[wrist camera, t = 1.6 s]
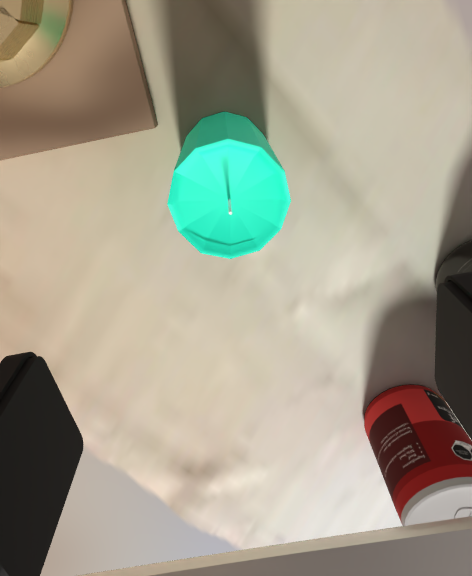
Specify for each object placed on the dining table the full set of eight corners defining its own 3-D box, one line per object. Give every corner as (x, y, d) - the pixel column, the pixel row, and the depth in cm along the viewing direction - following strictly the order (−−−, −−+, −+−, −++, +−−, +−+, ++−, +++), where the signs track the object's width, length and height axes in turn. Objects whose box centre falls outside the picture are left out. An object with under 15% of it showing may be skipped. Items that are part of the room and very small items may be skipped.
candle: (241, 92, 29) (255, 116, 18) (283, 172, 31) (318, 233, 21) (164, 142, 30) (136, 191, 19) (211, 214, 32) (209, 293, 22)
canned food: (445, 431, 44) (510, 538, 34) (366, 448, 45) (407, 557, 35) (443, 373, 40) (514, 474, 31) (356, 392, 41) (400, 497, 31)
